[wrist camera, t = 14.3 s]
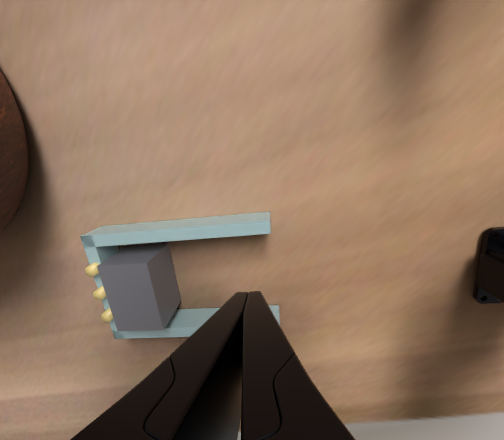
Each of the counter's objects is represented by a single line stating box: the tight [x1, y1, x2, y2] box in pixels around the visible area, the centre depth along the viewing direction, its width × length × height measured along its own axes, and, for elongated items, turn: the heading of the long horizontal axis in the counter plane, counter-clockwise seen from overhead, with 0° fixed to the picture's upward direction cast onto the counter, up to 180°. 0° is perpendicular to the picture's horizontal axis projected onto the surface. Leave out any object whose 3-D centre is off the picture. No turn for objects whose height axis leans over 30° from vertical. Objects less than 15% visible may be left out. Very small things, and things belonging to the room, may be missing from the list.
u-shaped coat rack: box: [80, 212, 280, 339], centre depth 20 cm, size 15×10×3 cm, turn 97°
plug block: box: [97, 243, 181, 331], centre depth 21 cm, size 4×6×4 cm
